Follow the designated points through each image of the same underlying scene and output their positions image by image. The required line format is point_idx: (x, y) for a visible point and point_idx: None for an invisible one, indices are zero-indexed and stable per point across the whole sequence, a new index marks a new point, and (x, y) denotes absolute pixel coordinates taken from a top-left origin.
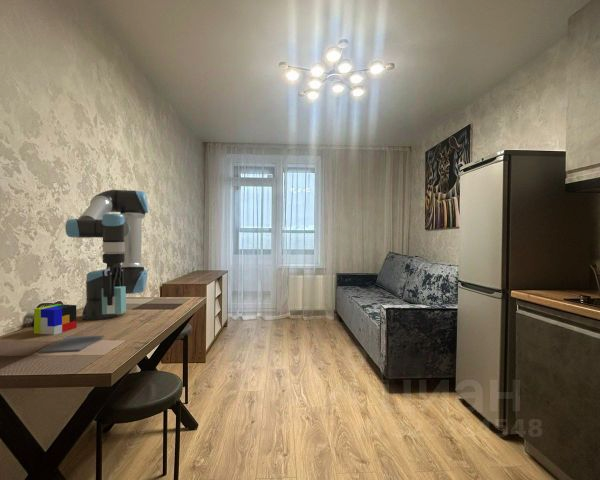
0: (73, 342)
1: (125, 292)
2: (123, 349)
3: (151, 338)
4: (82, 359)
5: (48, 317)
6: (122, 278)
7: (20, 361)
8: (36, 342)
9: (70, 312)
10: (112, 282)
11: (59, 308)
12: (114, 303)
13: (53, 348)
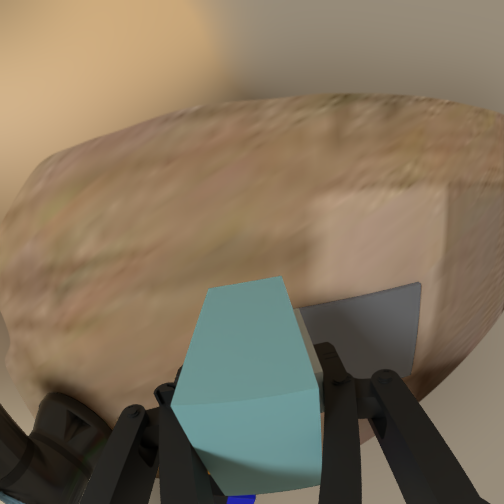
0: (355, 351)
1: (190, 360)
2: (409, 148)
3: (287, 103)
4: (469, 224)
5: None
6: (110, 498)
7: (452, 355)
8: None
9: None
10: (360, 484)
11: (231, 499)
12: (306, 340)
13: (400, 358)
